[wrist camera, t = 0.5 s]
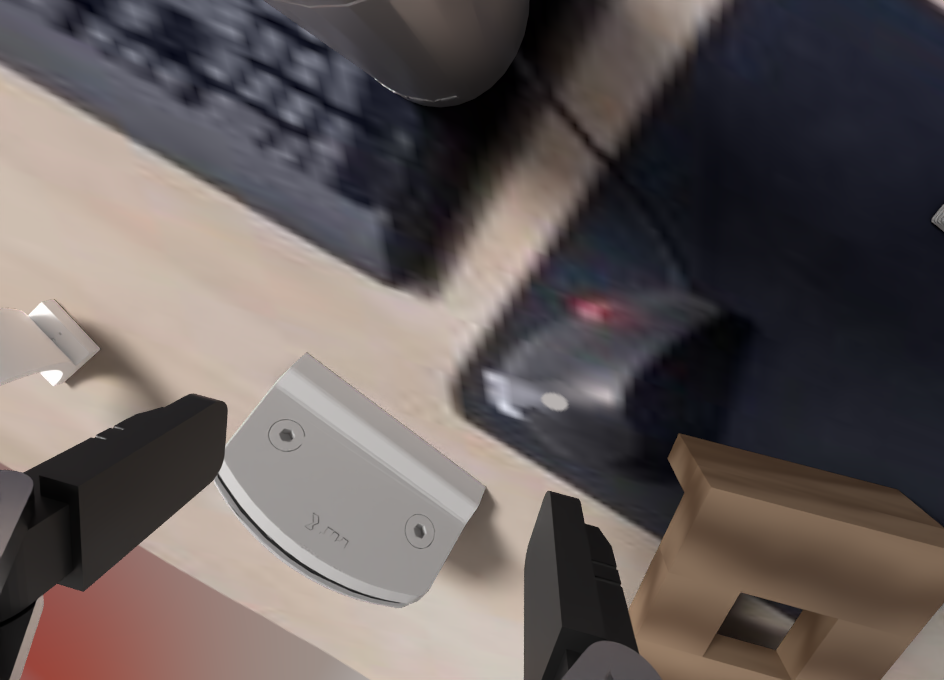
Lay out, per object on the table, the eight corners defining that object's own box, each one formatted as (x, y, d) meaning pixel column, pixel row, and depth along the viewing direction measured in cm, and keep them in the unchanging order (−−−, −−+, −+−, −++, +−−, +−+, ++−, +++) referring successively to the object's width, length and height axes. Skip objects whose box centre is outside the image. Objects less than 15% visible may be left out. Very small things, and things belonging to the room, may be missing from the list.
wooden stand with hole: (678, 433, 29) (711, 487, 23) (897, 489, 28) (980, 557, 23) (593, 624, 35) (604, 700, 30) (770, 674, 34) (813, 761, 29)
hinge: (490, 490, 32) (436, 636, 24) (457, 510, 35) (399, 647, 27) (301, 348, 30) (178, 458, 22) (283, 383, 33) (169, 490, 25)
